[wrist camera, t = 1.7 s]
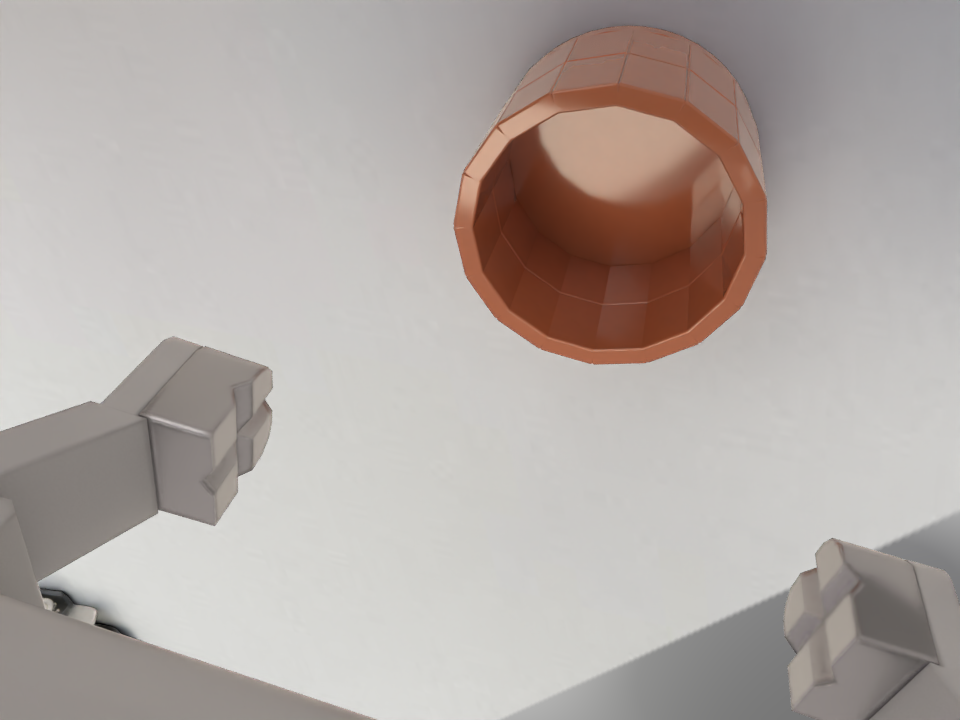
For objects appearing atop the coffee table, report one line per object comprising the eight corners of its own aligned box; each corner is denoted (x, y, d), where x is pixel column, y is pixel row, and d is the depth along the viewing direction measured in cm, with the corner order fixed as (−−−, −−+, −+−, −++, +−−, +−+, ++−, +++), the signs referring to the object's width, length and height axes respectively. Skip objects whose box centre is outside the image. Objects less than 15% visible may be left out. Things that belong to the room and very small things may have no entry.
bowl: (527, -6, 18) (484, 47, 14) (802, 65, 17) (825, 137, 14) (479, 233, 22) (435, 319, 19) (700, 296, 22) (698, 396, 18)
